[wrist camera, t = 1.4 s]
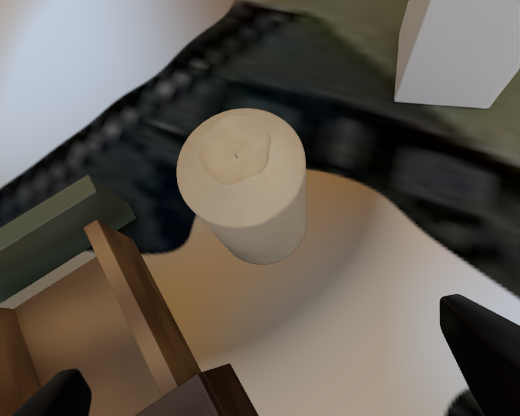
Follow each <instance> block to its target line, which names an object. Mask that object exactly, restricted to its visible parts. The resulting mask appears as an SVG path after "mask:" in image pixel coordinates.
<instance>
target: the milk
mask: <svg viewBox="0 0 520 416" xmlns="http://www.w3.org/2000/svg"><path fill="white" fill-rule="evenodd" d="M519 69H520V0H409V2H408V5H407V9H406V12H405V15H404V19H403V22H402V26H401V29H400V33H399V45H398V58H397V70H396V83H395V96H394V101H395V102H403V103H417V104H430V105H444V106H457V107H471V108H484V109H488V108H489V107H490V106H491V105H492V103H493V102H494V101H495V100H496V98H497V97H498V96H499V94H500V93H501V92H502V91H503V89H504V88H505V87H506V85H507V84H508V83H509V82H510V80H511V79H512V78H513V76H514V75H515V74H516V73H517V71H518V70H519Z"/></svg>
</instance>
